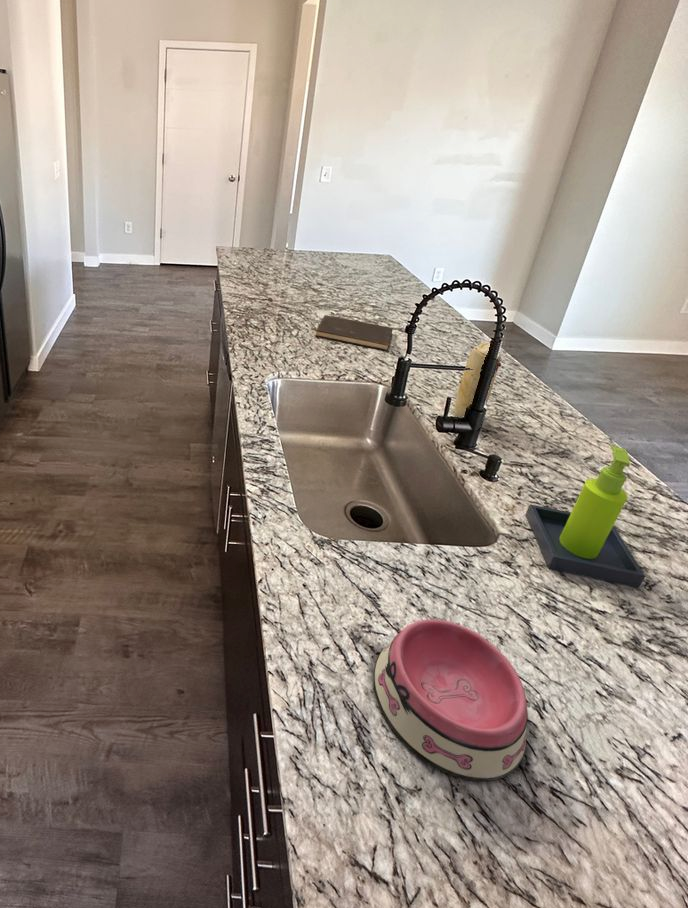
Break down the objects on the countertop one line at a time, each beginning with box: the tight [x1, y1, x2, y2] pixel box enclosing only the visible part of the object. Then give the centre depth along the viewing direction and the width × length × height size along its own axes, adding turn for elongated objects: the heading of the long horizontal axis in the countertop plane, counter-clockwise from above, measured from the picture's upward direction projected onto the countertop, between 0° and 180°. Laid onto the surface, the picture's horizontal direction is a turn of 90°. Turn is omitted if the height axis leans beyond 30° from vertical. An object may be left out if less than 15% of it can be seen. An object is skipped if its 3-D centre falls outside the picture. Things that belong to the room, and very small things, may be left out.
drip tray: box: [525, 503, 646, 589], centre depth 97 cm, size 14×14×3 cm
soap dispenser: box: [559, 445, 631, 559], centre depth 93 cm, size 6×7×20 cm
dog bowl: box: [372, 618, 529, 782], centre depth 70 cm, size 18×19×7 cm
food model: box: [453, 342, 502, 418], centre depth 132 cm, size 10×7×20 cm
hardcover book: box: [314, 314, 394, 352], centre depth 181 cm, size 16×23×2 cm
